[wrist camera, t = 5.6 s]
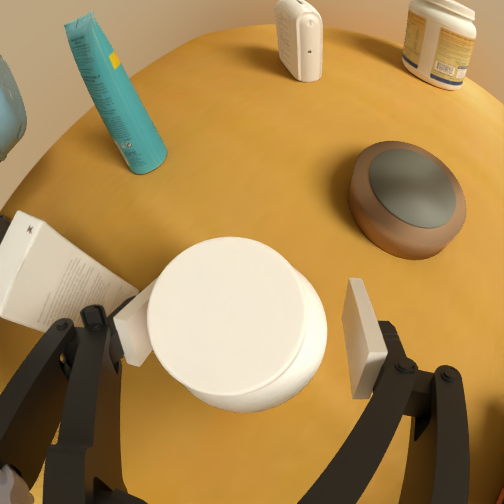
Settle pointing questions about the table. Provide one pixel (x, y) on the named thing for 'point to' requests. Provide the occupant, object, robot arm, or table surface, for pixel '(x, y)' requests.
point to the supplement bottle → (236, 324)
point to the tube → (115, 96)
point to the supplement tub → (439, 42)
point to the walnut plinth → (406, 200)
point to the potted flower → (501, 497)
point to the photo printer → (299, 39)
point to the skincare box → (51, 277)
